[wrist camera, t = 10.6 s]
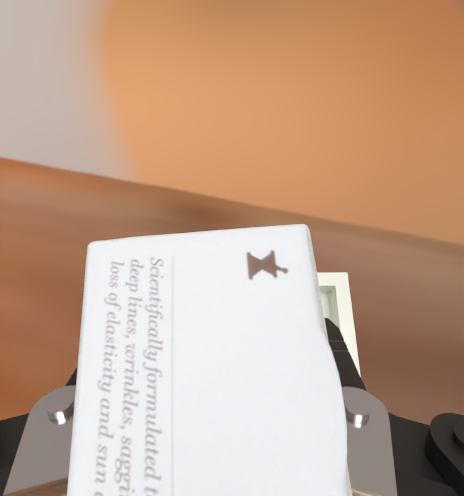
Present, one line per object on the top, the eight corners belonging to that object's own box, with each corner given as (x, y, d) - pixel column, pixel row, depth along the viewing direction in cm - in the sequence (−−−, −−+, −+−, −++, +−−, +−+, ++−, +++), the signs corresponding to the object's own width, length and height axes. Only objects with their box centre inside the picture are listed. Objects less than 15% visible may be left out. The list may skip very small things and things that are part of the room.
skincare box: (181, 324, 17) (64, 222, 6) (267, 317, 17) (311, 203, 6) (183, 461, 15) (-1, 713, 4) (281, 454, 15) (398, 686, 4)
